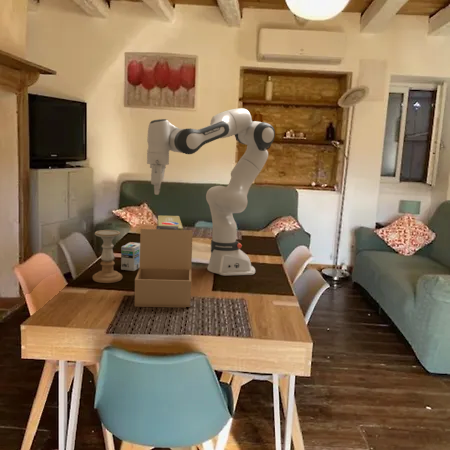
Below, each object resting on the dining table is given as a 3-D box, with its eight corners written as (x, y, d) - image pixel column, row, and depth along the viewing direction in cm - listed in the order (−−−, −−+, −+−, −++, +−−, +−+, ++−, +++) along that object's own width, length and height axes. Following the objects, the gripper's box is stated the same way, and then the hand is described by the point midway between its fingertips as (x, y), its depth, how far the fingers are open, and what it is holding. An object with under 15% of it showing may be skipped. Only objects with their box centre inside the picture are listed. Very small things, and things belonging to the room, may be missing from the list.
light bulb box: (134, 271, 209) (134, 248, 207) (120, 269, 210) (120, 246, 208) (143, 265, 219) (143, 243, 217) (129, 263, 220) (130, 241, 218)
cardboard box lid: (191, 269, 181) (191, 266, 186) (192, 228, 179) (192, 226, 185) (139, 267, 179) (141, 265, 185) (140, 226, 178) (142, 224, 183)
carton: (190, 293, 183) (191, 269, 181) (190, 307, 168) (191, 281, 166) (139, 292, 181) (139, 267, 179) (134, 306, 166) (134, 279, 165)
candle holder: (107, 285, 188) (107, 236, 184) (86, 279, 194) (85, 232, 190) (128, 278, 198) (129, 232, 194) (108, 272, 204) (108, 228, 201)
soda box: (182, 251, 249) (183, 228, 247) (157, 251, 247) (157, 227, 245) (179, 235, 289) (179, 215, 286) (157, 235, 287) (157, 214, 284)
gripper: (164, 161, 178) (163, 197, 181) (167, 159, 198) (166, 191, 201) (147, 160, 178) (147, 196, 180) (152, 158, 198) (151, 190, 200)
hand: (157, 193), depth 191 cm, fingers open, 4 cm apart
